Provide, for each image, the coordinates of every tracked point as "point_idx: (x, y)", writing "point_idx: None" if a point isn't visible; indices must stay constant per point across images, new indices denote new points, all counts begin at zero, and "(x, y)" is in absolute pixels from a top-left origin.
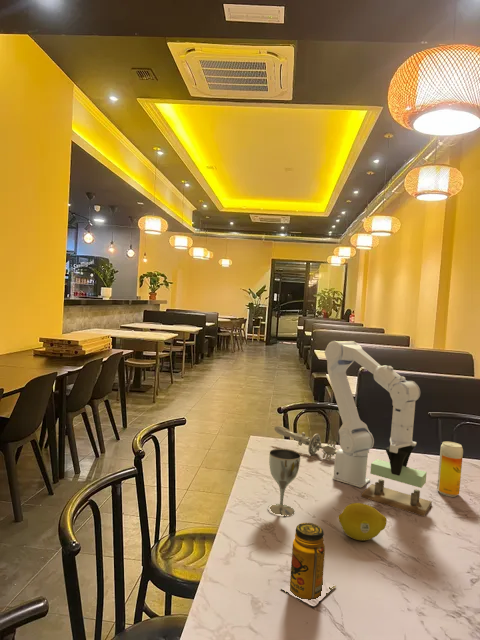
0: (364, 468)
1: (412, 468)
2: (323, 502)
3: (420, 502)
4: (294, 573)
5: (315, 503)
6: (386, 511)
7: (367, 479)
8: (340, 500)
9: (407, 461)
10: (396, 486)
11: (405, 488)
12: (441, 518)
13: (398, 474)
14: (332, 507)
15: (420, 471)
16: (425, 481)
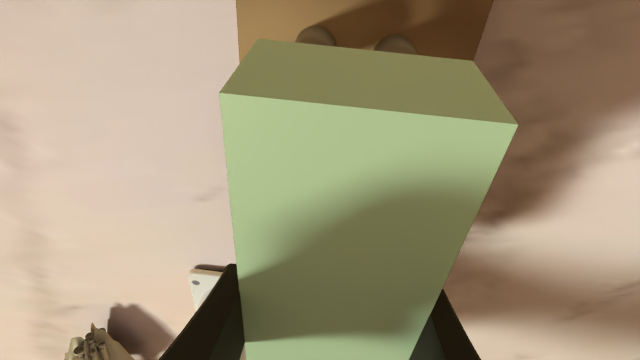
0: (245, 353)
1: (239, 244)
2: (530, 342)
3: (317, 15)
4: None
5: (550, 355)
6: (516, 166)
7: (205, 280)
8: (482, 312)
9: (209, 339)
10: (139, 171)
11: (118, 129)
12: None
13: (445, 300)
14: (565, 320)
15: (273, 166)
16: (272, 46)
